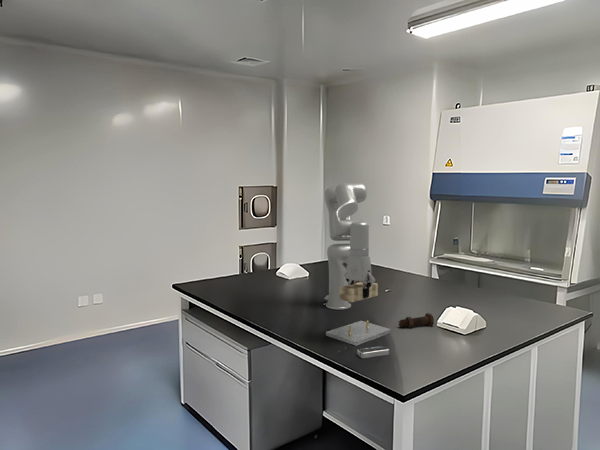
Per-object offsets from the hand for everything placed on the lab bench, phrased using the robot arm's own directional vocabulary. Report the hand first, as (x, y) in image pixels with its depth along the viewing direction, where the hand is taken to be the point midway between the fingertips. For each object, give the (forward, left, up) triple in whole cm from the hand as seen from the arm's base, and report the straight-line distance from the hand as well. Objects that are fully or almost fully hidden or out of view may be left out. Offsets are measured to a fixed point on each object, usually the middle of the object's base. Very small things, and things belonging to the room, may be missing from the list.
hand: (359, 295), depth 186 cm
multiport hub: (+18, -13, -17) cm, 27 cm away
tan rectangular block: (0, 0, -1) cm, 1 cm away
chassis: (0, 0, -16) cm, 16 cm away
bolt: (+10, +26, -17) cm, 32 cm away
